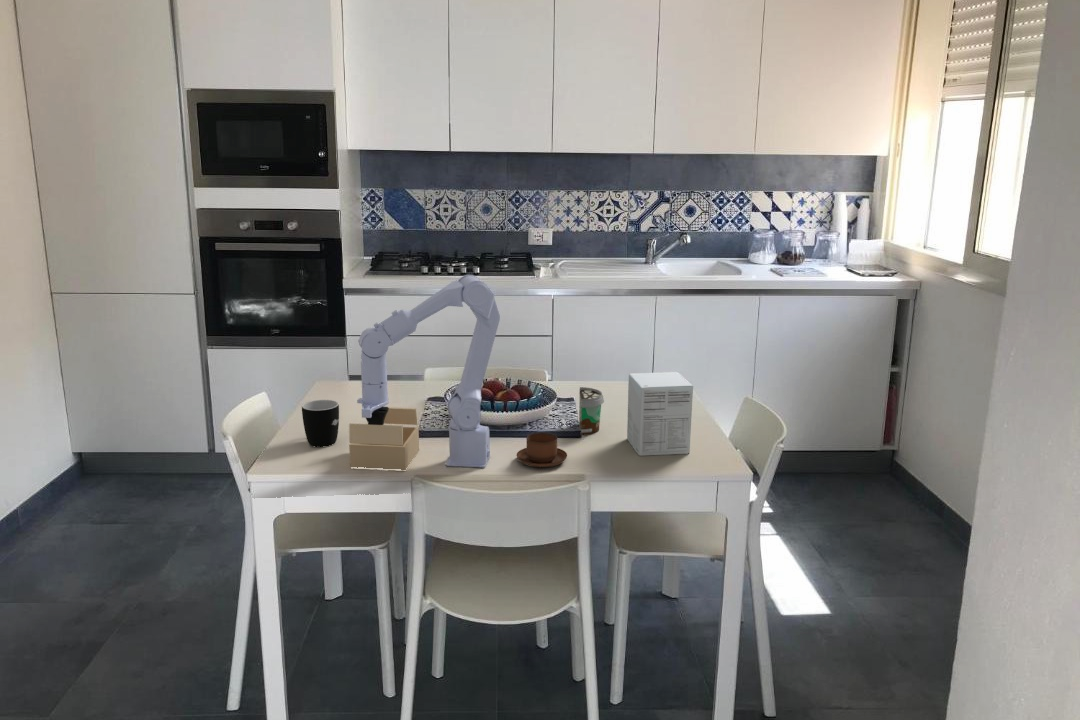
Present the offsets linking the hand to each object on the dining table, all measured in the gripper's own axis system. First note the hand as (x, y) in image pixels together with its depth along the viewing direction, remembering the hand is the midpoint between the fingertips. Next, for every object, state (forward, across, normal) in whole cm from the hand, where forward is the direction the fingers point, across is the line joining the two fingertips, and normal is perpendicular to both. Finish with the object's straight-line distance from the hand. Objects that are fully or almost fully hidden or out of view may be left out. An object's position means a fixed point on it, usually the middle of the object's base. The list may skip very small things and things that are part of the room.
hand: (376, 438), depth 207 cm
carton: (+8, -7, 0) cm, 10 cm away
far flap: (-1, -13, 0) cm, 13 cm away
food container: (+8, -35, +48) cm, 60 cm away
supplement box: (+7, -24, +65) cm, 70 cm away
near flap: (-1, 0, 0) cm, 1 cm away
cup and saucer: (+8, -10, +37) cm, 39 cm away
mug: (+8, -18, -19) cm, 27 cm away
